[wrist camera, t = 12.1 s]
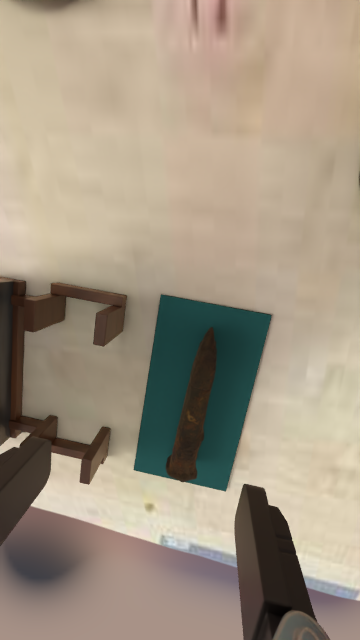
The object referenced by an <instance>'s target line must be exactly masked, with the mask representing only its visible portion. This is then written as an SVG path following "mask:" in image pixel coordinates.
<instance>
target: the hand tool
mask: <svg viewBox="0 0 360 640" xmlns="http://www.w3.org/2000/svg"><path fill="white" fill-rule="evenodd" d="M216 355H217V349H216V341H215V340H214V331H213V327H211V328H209V330H208V331H207V333H206V334H205V336H204V338H203V340H202V342H200V345H199V348H198V351H197V355H196V357H195V359H194V362H193V366H192V370H191V374H190V380H189V384H188V387H187V391H186V396H185V400H184V404H183V408H182V413H181V417H180V421H179V425H178V427H177V434H176V438H175V443H174V447H173V450H172V455H170V456H169V457H168V458H167V462H166V472H167V475H169V476H170V477H172V478H174V479H176V480H179V481H181V482H186V481H189V480H194V479H196V478H197V469H196V459H197V453H198V450H199V447H200V445H201V441H203V440H204V430H203V425H204V421H205V416H206V411H207V405H208V400H209V396H210V392H211V389H212V386H213V381H214V378H215V372H216V359H217V357H216Z"/></svg>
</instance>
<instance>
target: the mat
mask: <svg viewBox="0 0 360 640" xmlns="http://www.w3.org/2000/svg"><path fill="white" fill-rule="evenodd" d="M271 316H272V315H269V314H264V313H259V312H253V311H248V310H242V309H237V308H232V307H226V306H221V305H216V304H210V303H205V302H199V301H194V300H189V299H183V298H178V297H173V296H167V295H161V298H160V304H159V311H158V317H157V324H156V330H155V336H154V343H153V349H152V356H151V362H150V369H149V375H148V382H147V388H146V395H145V401H144V407H143V414H142V420H141V427H140V433H139V440H138V446H137V453H136V459H135V465H134V470H135V471H140V472H144V473H148V474H153V475H157V476H161V477H166V478H170V479H174V478H172V477H170V476H169V475H167V472H166V462H167V458H168V457H169V456H170V455H172V450H173V447H174V443H175V438H176V434H177V427H178V425H179V421H180V417H181V413H182V408H183V404H184V400H185V396H186V391H187V387H188V384H189V380H190V374H191V370H192V366H193V362H194V359H195V357H196V355H197V351H198V348H199V345H200V342H202V340H203V338H204V336H205V334H206V333H207V331H208V330H209V328H211V327H213V331H214V340H215V341H216V349H217V355H216V357H217V359H216V372H215V378H214V381H213V386H212V389H211V392H210V396H209V400H208V405H207V411H206V416H205V421H204V425H203V430H204V440H203V441H201V445H200V447H199V450H198V453H197V459H196V469H197V478H196V479H194V480H189V481H186V482H187V483H192V484H196V485H200V486H205V487H209V488H213V489H218V490H222V491H226V489H227V485H228V481H229V478H230V474H231V470H232V466H233V462H234V458H235V454H236V451H237V447H238V443H239V439H240V435H241V431H242V428H243V424H244V420H245V416H246V412H247V408H248V405H249V401H250V397H251V393H252V389H253V385H254V382H255V378H256V374H257V370H258V366H259V362H260V359H261V355H262V351H263V347H264V343H265V339H266V336H267V332H268V328H269V324H270V320H271ZM174 480H176V479H174Z"/></svg>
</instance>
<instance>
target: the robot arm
mask: <svg viewBox="0 0 360 640" xmlns="http://www.w3.org/2000/svg"><path fill="white" fill-rule="evenodd" d="M359 182H360V178H359ZM51 447H52V443H51V441H50V440H47V439H43V438H38V437H34V436H32V437H30V438H29V439H28V440H27V441H26V442H25V443H24V444H23V445H22V446H20V447H19V448H16V447H13V448H11V449H10V450H8V451H6V452H4V453H2V454H1V455H0V546H1V545H2V543H3V542H4V541H5V539H6V538H7V537H8V535H9V534H10V533H11V531H12V530H13V528H14V527H15V526H16V524H17V523H18V522H19V520H20V519H21V518H22V516H23V515H24V514H25V512H26V511H27V509H28V508H29V507H30V505H31V504H32V503H33V501H34V500H35V499H36V497H37V496H38V495H39V493H40V492H41V490H42V489H43V488H44V486H45V485H46V483H47V481H48V478H49V475H50V471H51ZM235 543H236V555H237V567H238V578H239V589H240V601H241V613H242V625H243V636H244V640H330V638H329V637H328V635H327V634H326V632H325V631H324V630H323V628H322V627H321V626H320V625H319V624H318V623H317V620H316V618H315V615H314V612H313V609H312V605H311V602H310V599H309V595H308V592H307V588H306V585H305V581H304V578H303V574H302V571H301V568H300V564H299V561H298V557H297V556H296V550H295V547H294V544H293V541H292V537H291V533H290V530H289V526H288V523H287V521H286V519H285V518H284V516H283V515H282V513H281V512H280V510H279V509H278V507H274V506H270V505H268V501H267V496H266V492H265V489H264V488H261V487H257V486H252V485H248V484H244V485H243V488H242V491H241V495H240V499H239V503H238V507H237V511H236V516H235Z"/></svg>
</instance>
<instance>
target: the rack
mask: <svg viewBox="0 0 360 640" xmlns="http://www.w3.org/2000/svg"><path fill="white" fill-rule="evenodd" d="M25 289H26V282H25V281H21V280H16V279H10V278H5V277H0V446H1V445H2V444H3V443H4V442H5V441H6V440H8V439H9V438H10V437H11V438H16V437H17V436H18V435H19V434H20V433H21V431H24V432H28V433H31V434H30V435H29V436H28V437H27V438H26V439H25V440H24V441H23V442H22V443H21V444H20V446H22V445H23V444H24V443H25V442H26V441H27V440H28V439H29V438H30V437H32V436H34V437H38V438H43V439H47V440H50V441H51V443H52V447H51V452H52V453H57V454H61V455H65V456H70V457H74V458H78V459H82V463H81V473H80V483H84V484H88V485H89V484H90V482H91V480H92V478H93V476H94V475H95V473H96V471H97V469H98V467H99V465H100V464H103V463H104V461H105V459H106V457H107V452H108V445H109V437H110V428H106V427H102V428H101V429H100V431H99V433H98V434H97V436H96V437H95V439H94V440H93V442H92V444H91V445H86V444H82V443H77V442H73V441H68V440H64V439H60V438H56V434H57V419H58V417H56V416H51V415H49V416H48V417H47V418H46V419H45V420H44V421H43V420H38V419H34V418H29V417H25V416H21V415H22V383H23V352H24V331H29V332H36V331H38V330H41V329H43V328H46V327H48V326H51V325H53V324H56V323H58V322H61V321H63V320H64V318H65V303H66V296H67V297H72V298H77V299H82V300H88V301H93V302H98V303H103V304H109V305H113V306H110V307H108V308H106V309H104V310H102V311H99V312H97V313H96V321H95V331H94V342H93V344H94V345H99V346H105V345H106V344H108V343H109V342H110V341H111V340H113V339H114V338H115V337H116V336H118V335H119V334H120V333H121V332H122V331H123V323H124V315H125V307H126V299H127V296H126V295H121V294H116V293H110V292H105V291H100V290H94V289H89V288H84V287H78V286H73V285H68V284H62V283H52V284H51V292H50V293H51V294H46V295H41V296H36V297H34V296H28V295H25Z"/></svg>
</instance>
